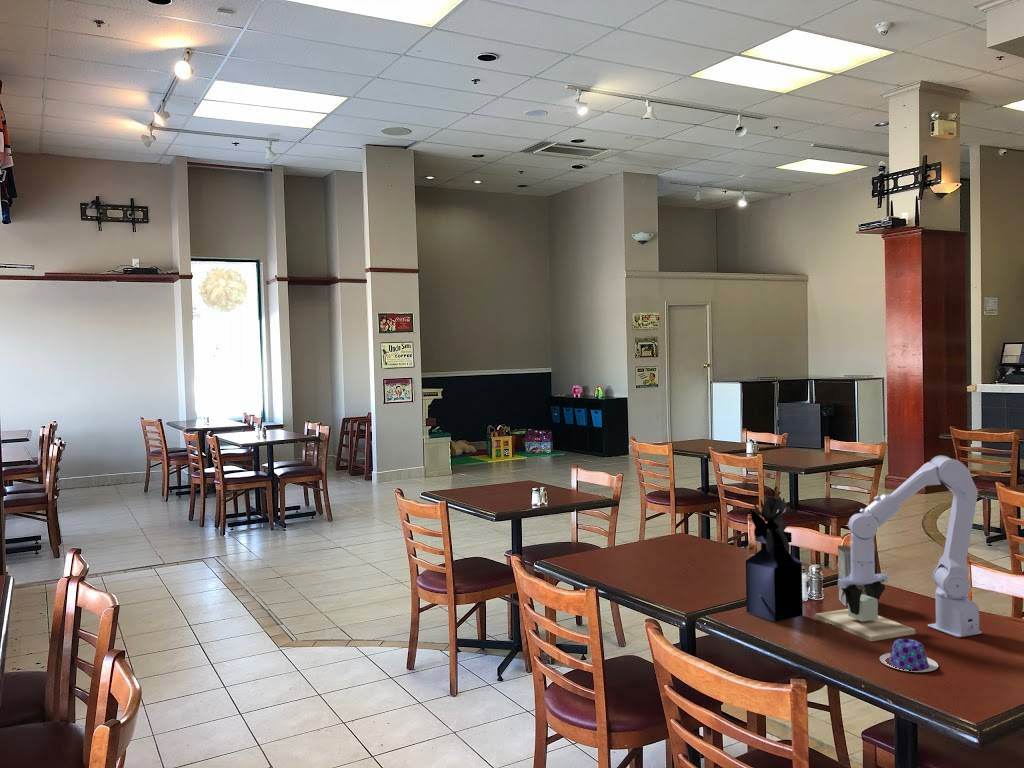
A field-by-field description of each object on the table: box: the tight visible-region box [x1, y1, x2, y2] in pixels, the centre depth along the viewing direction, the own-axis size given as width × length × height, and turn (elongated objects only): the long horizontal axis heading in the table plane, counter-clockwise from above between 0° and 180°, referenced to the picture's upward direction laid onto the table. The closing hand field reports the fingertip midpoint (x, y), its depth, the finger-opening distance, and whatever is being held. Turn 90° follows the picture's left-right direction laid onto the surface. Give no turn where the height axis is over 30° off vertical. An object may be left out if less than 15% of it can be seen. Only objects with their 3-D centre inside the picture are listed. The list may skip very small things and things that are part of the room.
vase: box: [745, 486, 804, 623], centre depth 218 cm, size 14×12×35 cm
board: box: [814, 608, 916, 642], centre depth 208 cm, size 20×14×4 cm
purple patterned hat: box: [879, 638, 939, 673], centre depth 181 cm, size 12×12×5 cm
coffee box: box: [837, 544, 878, 607], centre depth 227 cm, size 9×6×16 cm
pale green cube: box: [847, 594, 879, 622], centre depth 208 cm, size 5×5×5 cm
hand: (863, 612), depth 208 cm, fingers closed on pale green cube, 5 cm apart
